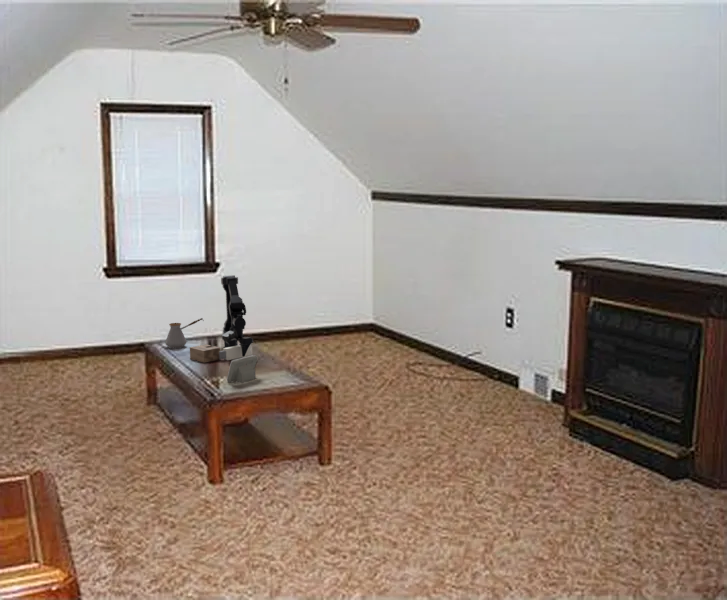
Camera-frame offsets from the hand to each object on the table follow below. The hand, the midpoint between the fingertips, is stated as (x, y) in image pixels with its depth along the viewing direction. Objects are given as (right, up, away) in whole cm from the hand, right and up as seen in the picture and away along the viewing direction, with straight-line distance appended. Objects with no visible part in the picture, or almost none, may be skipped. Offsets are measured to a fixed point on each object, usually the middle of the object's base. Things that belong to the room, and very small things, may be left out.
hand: (237, 355), depth 410 cm
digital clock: (+9, -8, -45) cm, 46 cm away
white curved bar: (-1, -2, -1) cm, 2 cm away
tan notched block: (-16, -2, -4) cm, 17 cm away
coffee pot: (-33, +3, +27) cm, 43 cm away
